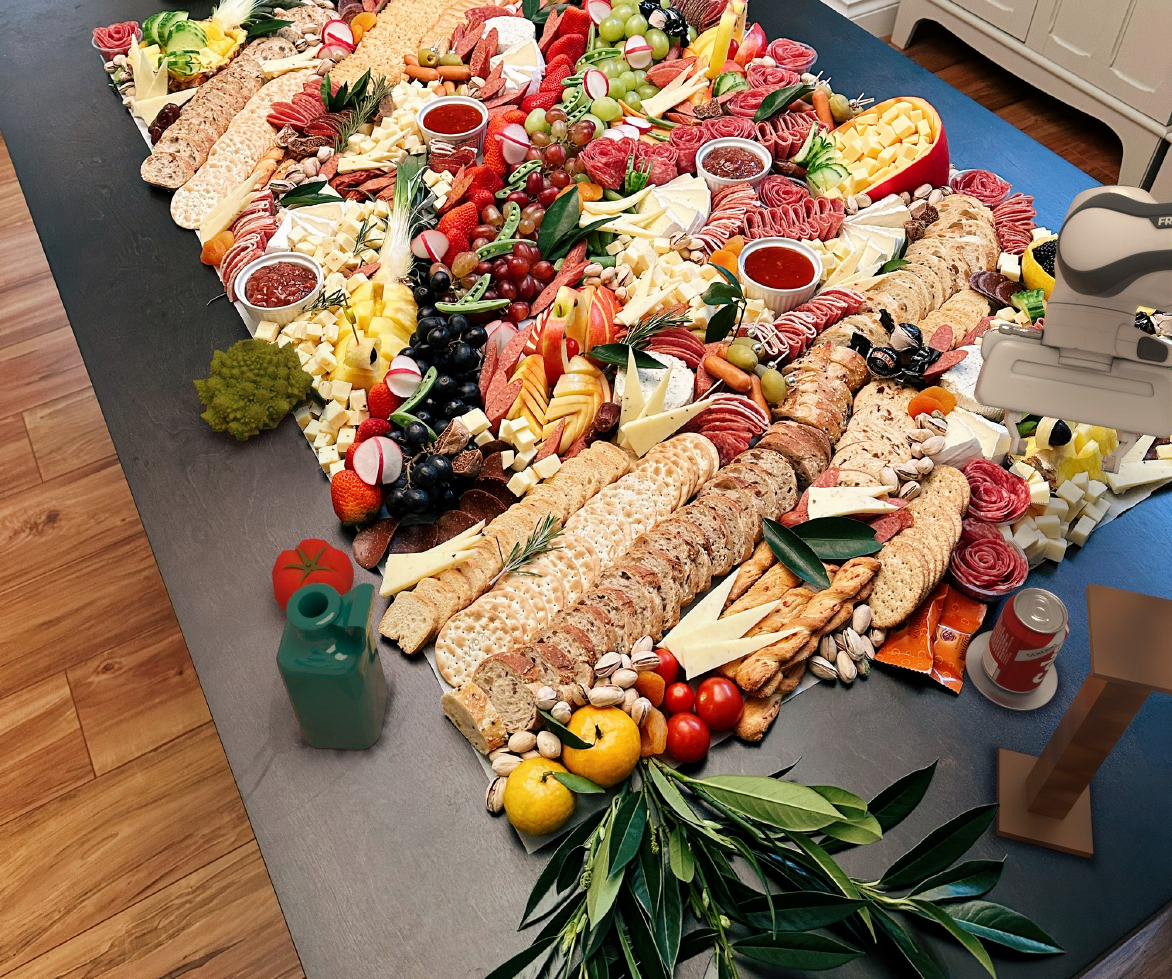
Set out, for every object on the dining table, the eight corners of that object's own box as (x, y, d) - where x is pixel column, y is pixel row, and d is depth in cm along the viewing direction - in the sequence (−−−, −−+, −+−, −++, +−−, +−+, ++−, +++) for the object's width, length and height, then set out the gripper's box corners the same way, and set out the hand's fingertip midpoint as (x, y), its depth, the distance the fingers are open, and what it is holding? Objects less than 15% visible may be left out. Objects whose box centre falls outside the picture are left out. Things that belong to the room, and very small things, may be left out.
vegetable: (353, 379, 155) (276, 334, 143) (291, 476, 153) (208, 439, 142) (296, 342, 164) (220, 298, 153) (237, 433, 162) (155, 395, 151)
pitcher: (300, 749, 120) (257, 639, 105) (317, 677, 126) (279, 564, 111) (390, 752, 120) (361, 643, 105) (403, 681, 126) (377, 567, 111)
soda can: (979, 687, 125) (1007, 629, 116) (981, 636, 129) (1007, 576, 121) (1043, 702, 123) (1075, 644, 115) (1042, 650, 128) (1073, 590, 120)
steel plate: (1055, 642, 129) (1056, 640, 129) (1058, 721, 122) (1059, 719, 122) (965, 623, 131) (966, 621, 131) (964, 699, 124) (964, 697, 124)
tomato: (283, 637, 130) (270, 602, 125) (276, 576, 136) (263, 539, 131) (363, 617, 132) (354, 581, 127) (353, 557, 138) (343, 520, 133)
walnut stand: (1084, 774, 118) (1198, 605, 96) (1089, 858, 112) (1212, 698, 89) (996, 753, 120) (1088, 582, 97) (996, 835, 113) (1094, 672, 91)
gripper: (990, 318, 119) (967, 446, 119) (1195, 353, 115) (1171, 485, 115) (981, 321, 125) (958, 443, 125) (1175, 354, 121) (1152, 480, 121)
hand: (1062, 463), depth 120 cm, fingers open, 8 cm apart
